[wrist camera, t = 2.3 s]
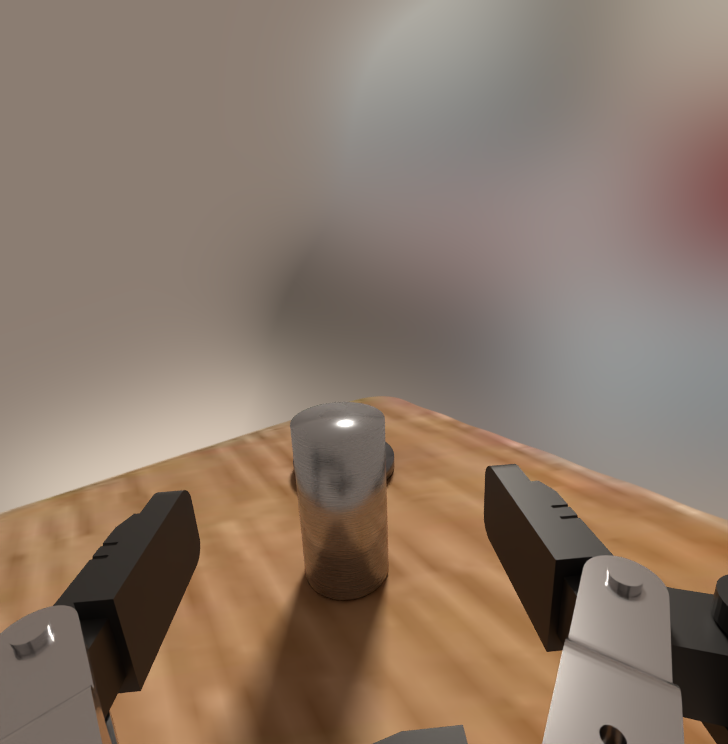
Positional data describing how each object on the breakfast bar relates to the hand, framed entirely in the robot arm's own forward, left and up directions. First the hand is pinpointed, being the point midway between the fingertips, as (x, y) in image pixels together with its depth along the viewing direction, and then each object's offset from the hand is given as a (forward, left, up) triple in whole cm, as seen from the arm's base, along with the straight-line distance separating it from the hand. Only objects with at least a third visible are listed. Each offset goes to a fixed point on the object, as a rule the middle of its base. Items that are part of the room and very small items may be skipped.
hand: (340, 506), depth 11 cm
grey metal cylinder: (0, +11, -13) cm, 17 cm away
